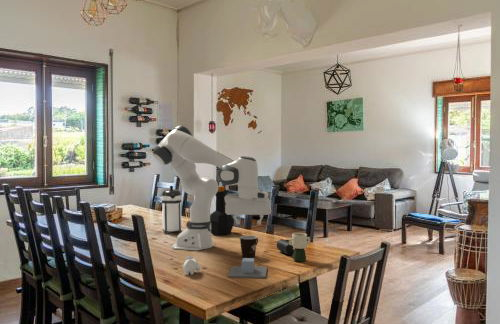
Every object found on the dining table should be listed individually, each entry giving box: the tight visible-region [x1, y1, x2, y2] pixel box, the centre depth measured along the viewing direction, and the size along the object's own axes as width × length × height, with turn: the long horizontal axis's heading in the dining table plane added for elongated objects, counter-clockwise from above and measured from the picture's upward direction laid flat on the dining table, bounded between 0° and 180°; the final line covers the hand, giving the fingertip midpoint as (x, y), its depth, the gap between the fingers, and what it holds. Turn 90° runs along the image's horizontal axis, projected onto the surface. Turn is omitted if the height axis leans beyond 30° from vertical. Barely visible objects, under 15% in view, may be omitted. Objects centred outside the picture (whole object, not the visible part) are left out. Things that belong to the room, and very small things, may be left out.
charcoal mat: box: [227, 265, 268, 279], centre depth 185 cm, size 16×14×1 cm
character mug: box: [288, 232, 311, 262], centre depth 202 cm, size 11×7×13 cm, turn 107°
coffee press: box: [161, 185, 183, 235], centre depth 271 cm, size 17×16×30 cm
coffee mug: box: [239, 234, 259, 259], centre depth 211 cm, size 12×9×10 cm
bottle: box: [210, 185, 235, 236], centre depth 264 cm, size 16×16×30 cm
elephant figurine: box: [180, 254, 203, 276], centre depth 185 cm, size 8×10×7 cm
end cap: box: [276, 238, 295, 257], centre depth 216 cm, size 10×7×7 cm
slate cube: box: [241, 258, 255, 273], centre depth 185 cm, size 5×5×5 cm
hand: (248, 224), depth 185 cm, fingers open, 8 cm apart
